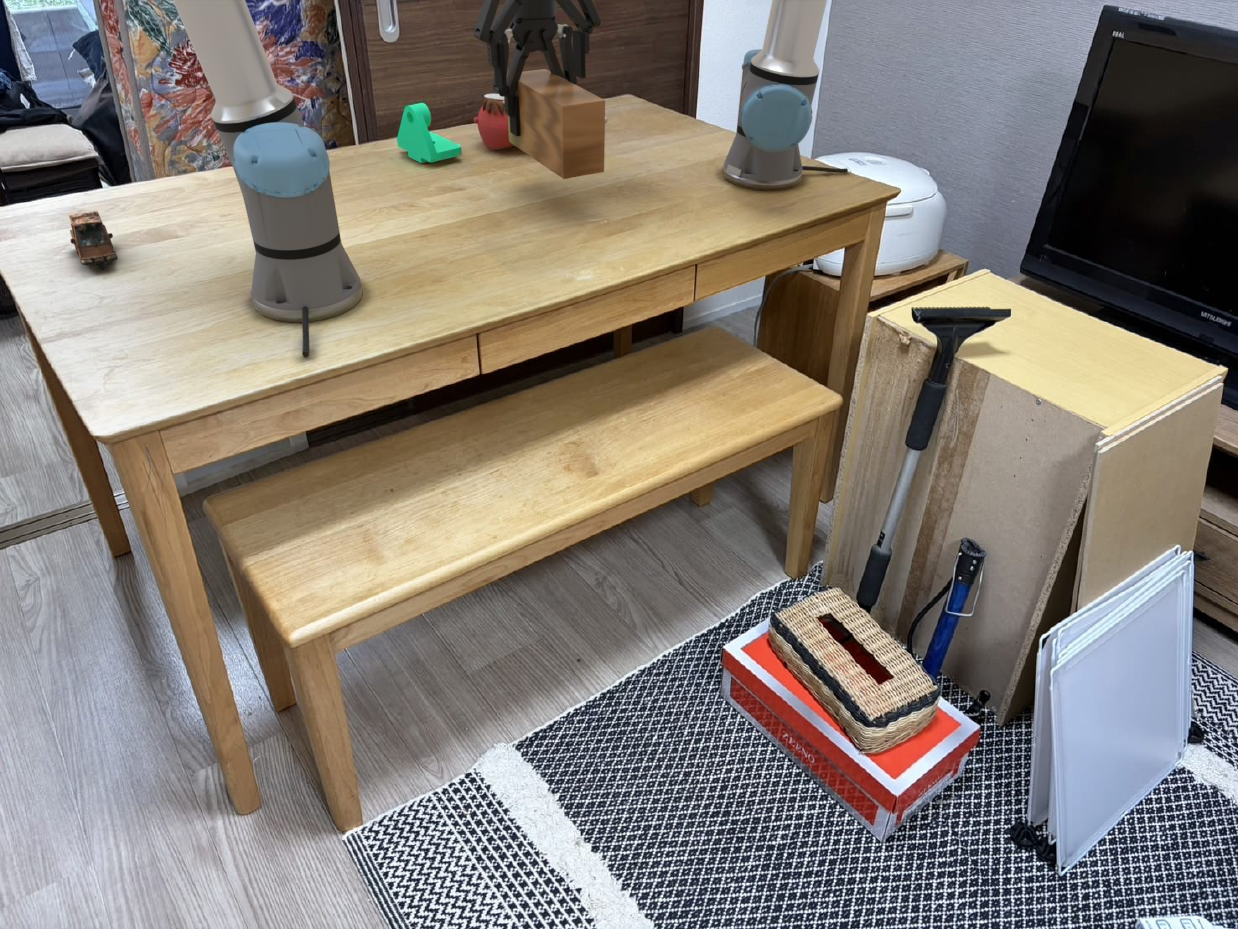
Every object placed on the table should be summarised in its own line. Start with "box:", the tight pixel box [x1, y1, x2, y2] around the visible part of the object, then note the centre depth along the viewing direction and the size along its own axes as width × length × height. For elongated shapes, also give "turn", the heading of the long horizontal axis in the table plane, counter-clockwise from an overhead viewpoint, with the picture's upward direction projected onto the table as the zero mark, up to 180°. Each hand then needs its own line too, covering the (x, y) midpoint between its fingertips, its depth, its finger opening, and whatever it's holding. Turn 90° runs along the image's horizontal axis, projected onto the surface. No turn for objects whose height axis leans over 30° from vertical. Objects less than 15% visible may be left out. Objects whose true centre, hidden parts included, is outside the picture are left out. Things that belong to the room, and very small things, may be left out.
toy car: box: [68, 210, 118, 272], centre depth 141 cm, size 6×12×7 cm, turn 39°
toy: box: [473, 93, 609, 150], centre depth 194 cm, size 18×10×30 cm
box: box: [507, 68, 606, 180], centre depth 159 cm, size 22×8×12 cm, turn 30°
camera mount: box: [396, 102, 463, 164], centre depth 182 cm, size 12×8×10 cm, turn 42°
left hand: (541, 82), depth 145 cm, fingers open, 13 cm apart
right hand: (536, 130), depth 166 cm, fingers closed on box, 8 cm apart
